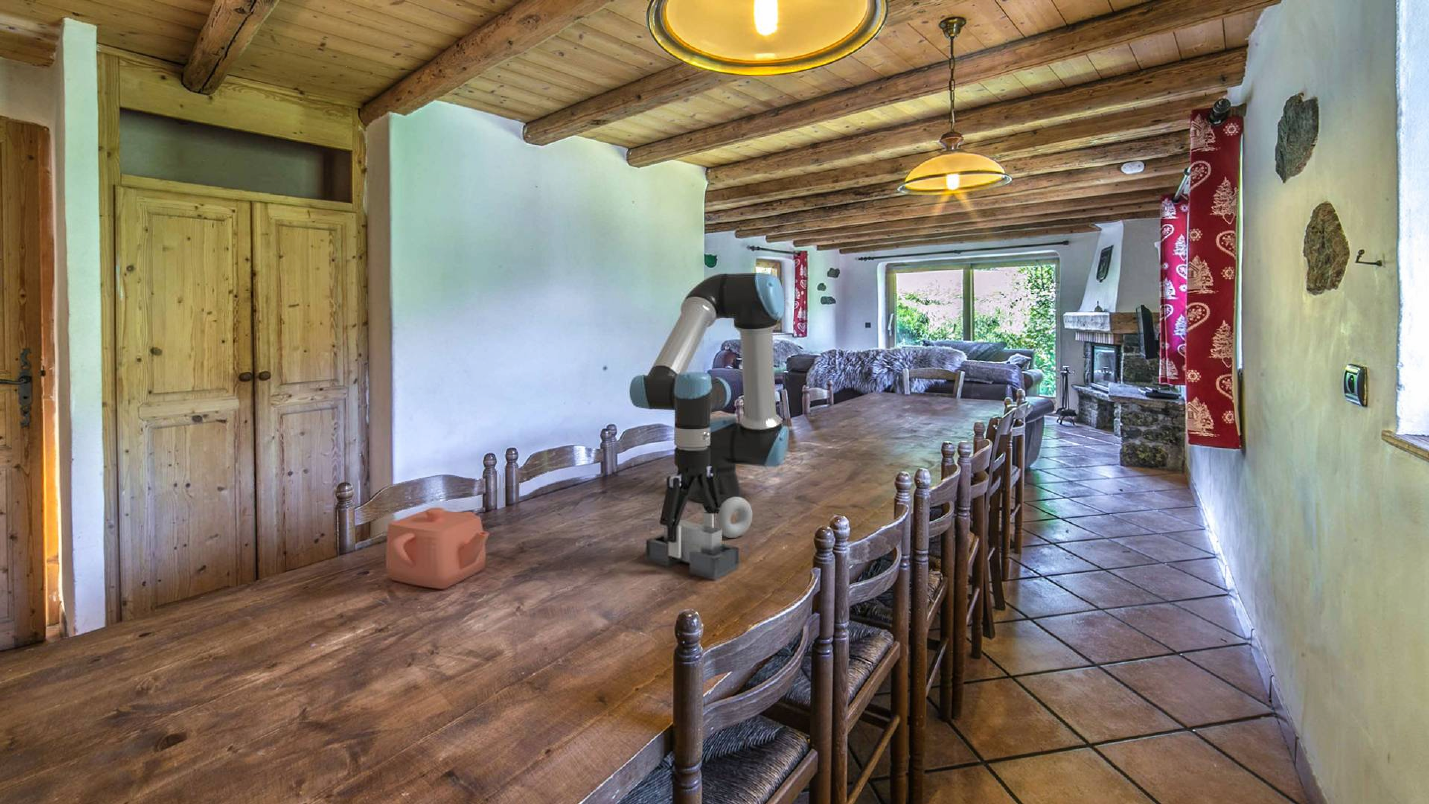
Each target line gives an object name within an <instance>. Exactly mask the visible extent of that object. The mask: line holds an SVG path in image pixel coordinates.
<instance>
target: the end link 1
mask: <svg viewBox="0 0 1429 804" xmlns="http://www.w3.org/2000/svg"><path fill="white" fill-rule="evenodd" d="M645 542H646V543H645V544H646V547H645V550H646V554H645V555H646V557H645V559H646V561H648V562H651V563H655V564H658V565H661V566H664V567H668V568H670V567H673V566H674V565H676V564H679V563H681V562H683V561H682V560H678V559H675V558H673V556H669V544H668V543H664V533H661V534H659V535H656V536H654V537H651V538H647V539H646V541H645Z"/></svg>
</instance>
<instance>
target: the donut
mask: <svg viewBox="0 0 1429 804" xmlns="http://www.w3.org/2000/svg"><path fill="white" fill-rule="evenodd" d="M718 509H719V513H718V514H717V513H716V515H715V522H716V523H715V524H716V527H717V529H721V530H722V536H724V537H725V538H729V539H736V538H738V537H741V536H742V535H744V534H745V533H746V532H747V531H748V529H749V528H750V526H751V524H752V521H753V510H752V507H751V504H750V502H748V501H747V500H746V499H745V498H743V497H742V496H741V497H732V498H729V499H727V500H726V501H725V502H723V503H722V505H721V508H718ZM735 512H738V517H737V520H736V521H735V522H734V523H731V522H732V521H731V518H732V515H733V513H735Z"/></svg>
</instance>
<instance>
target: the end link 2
mask: <svg viewBox="0 0 1429 804" xmlns="http://www.w3.org/2000/svg"><path fill="white" fill-rule="evenodd" d="M739 548H740V547H737V546H732V545H729V544H725V543H722V553H720V554H718V555H716V556H711V555H708V554H704V553H700V552H697V551H691V552H690V563H689V574H691V575H694V576H697V577H701V578H704V579H708V580H711V581H713V582H714V581H717V580H718V579H721V578H723V577H724V576H727V575H728V574H731V573H733V572H735V571H737V570H738V569H739V556H740V555H739V554H740V553H739V550H740V549H739Z"/></svg>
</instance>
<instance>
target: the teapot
mask: <svg viewBox="0 0 1429 804" xmlns="http://www.w3.org/2000/svg"><path fill="white" fill-rule="evenodd" d="M489 535H490V533H489V532H486V531H484V530H483V524H482V518H481V517H480V516H479V515H477V514H476V515H475V513H474V512H473V511H463V512H458V511H450V510H445V508H442V507H431V508H428V509H425V510H423V511H420V512H417V513H415V514H412V515H409V516H406V517H403V518H400V519H398V520H395V521H392V522H389V523H388V525H387V535H386V536H387V537H386V545H385V546H386V550H385V552H386V553H385V565H386V566H385V567H386V573H387V576H388V579H390V580H392V581H395V582H400V583H403V584H408V585H413V586H419V587H424V588H429V589H437V590H438V589H440V590H446V589H447V588H450V587H452V586H454V585H456V584H458V583H460V582H462V581H464V580H466V579H468V578H471V577H472V576H474V575H475V574H477V573H480V572H481V571H483V570H485V566H486V559H487V556H486V554H487V553H486V541H487V540H488V538H489Z"/></svg>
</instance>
